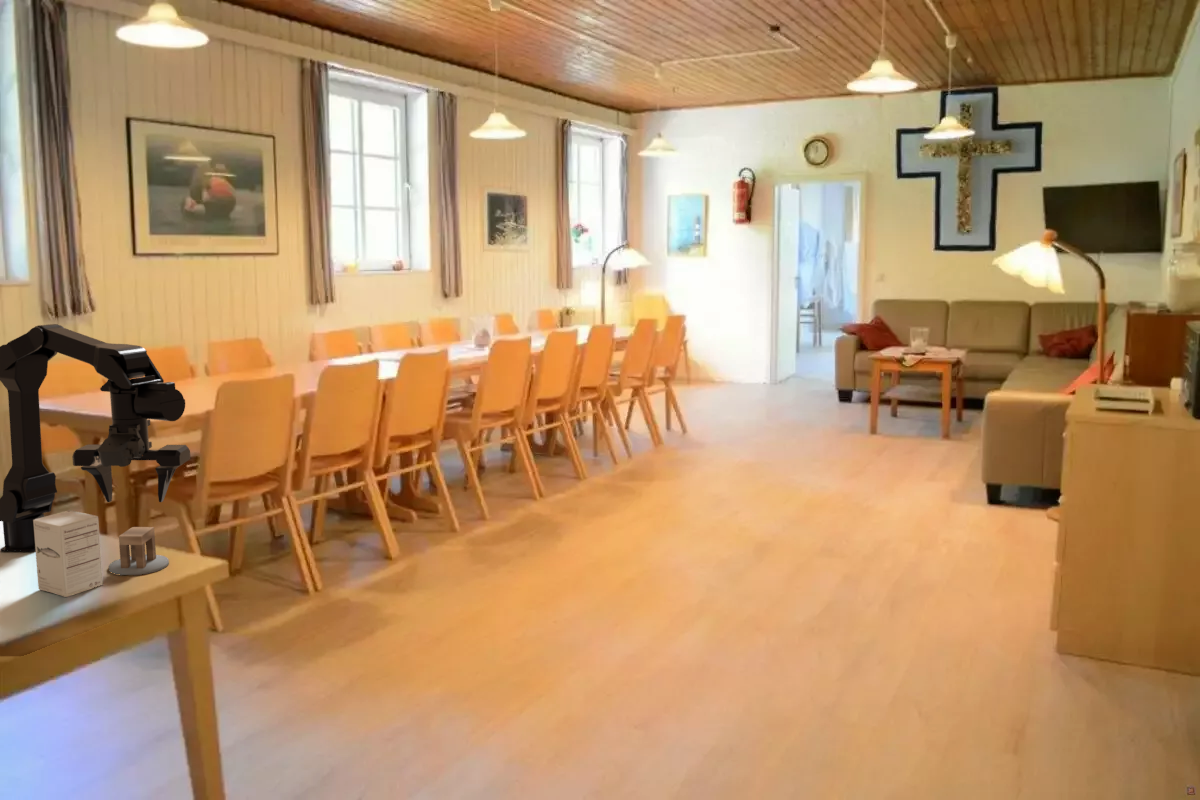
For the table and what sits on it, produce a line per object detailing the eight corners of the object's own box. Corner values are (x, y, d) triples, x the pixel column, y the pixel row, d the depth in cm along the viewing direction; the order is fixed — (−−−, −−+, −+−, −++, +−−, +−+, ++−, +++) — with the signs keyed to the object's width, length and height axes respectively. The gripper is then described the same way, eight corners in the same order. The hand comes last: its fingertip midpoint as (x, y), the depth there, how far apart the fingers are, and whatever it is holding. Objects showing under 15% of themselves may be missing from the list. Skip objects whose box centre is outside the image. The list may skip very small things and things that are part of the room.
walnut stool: (134, 558, 186) (132, 527, 185) (156, 558, 186) (154, 527, 185) (120, 568, 181) (118, 536, 180) (143, 568, 181) (141, 536, 180)
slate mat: (98, 575, 178) (98, 572, 178) (123, 557, 188) (122, 554, 188) (155, 575, 179) (155, 572, 179) (177, 557, 189) (177, 554, 188)
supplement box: (37, 590, 171) (31, 519, 169) (77, 577, 177) (71, 508, 175) (64, 598, 167) (58, 525, 165) (104, 585, 174) (99, 514, 172)
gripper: (53, 425, 170) (60, 514, 173) (165, 425, 171) (170, 514, 174) (84, 413, 181) (90, 497, 184) (189, 414, 182) (193, 497, 185)
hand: (135, 501), depth 181 cm, fingers open, 9 cm apart
